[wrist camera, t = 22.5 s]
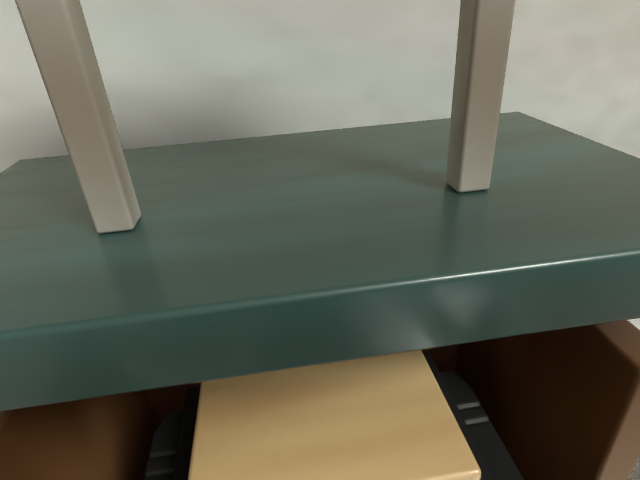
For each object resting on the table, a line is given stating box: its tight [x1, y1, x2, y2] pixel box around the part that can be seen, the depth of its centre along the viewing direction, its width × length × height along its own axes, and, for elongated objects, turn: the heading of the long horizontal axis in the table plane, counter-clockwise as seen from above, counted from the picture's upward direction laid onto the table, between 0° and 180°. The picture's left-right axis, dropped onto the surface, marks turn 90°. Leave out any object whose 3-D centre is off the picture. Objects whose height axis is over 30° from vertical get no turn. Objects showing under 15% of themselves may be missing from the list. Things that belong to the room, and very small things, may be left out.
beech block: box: [188, 350, 481, 480], centre depth 9 cm, size 5×5×5 cm
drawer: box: [0, 0, 640, 480], centre depth 11 cm, size 22×14×8 cm, turn 4°
